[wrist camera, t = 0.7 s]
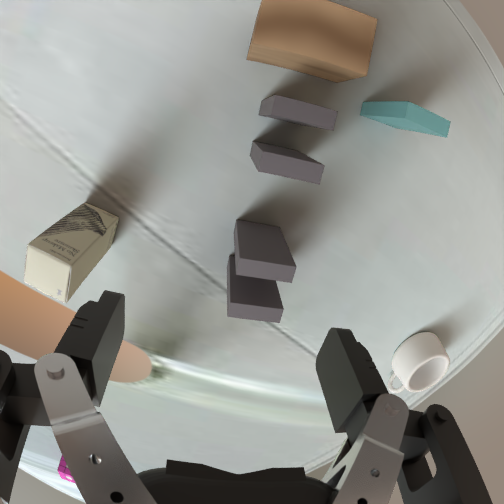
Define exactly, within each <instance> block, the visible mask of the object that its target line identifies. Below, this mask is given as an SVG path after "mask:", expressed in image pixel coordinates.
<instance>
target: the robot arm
mask: <svg viewBox="0 0 504 504" xmlns="http://www.w3.org/2000/svg"><path fill="white" fill-rule="evenodd" d="M124 326H125V296H124V294H120V293H116V292H111V291H107V290H105V291H104V292H103V294H102V295H101V297H100V299H99V301H98V302H94V301H88V302H87V303H85V304H84V305H83V306H81V307H80V308H79V310H78V311H77V313H76V315H75V317H74V318H73V320H72V322H71V323H70V326H69V327H68V328H67V330H66V332H65V333H64V335H63V337H62V339H61V340H60V342H59V344H58V346H57V347H56V349H55V351H54V353H50V354H46V355H44V356H42V357H41V358H40V359H39V360H38V361H37V362H36V364H21V363H12V361H11V359H10V357H9V355H8V354H7V353H5V352H4V351H2V350H0V504H9V501H10V496H11V492H12V487H13V483H14V480H15V476H16V472H17V468H18V465H19V461H20V458H21V454H22V451H23V448H24V445H25V441H26V438H27V435H28V432H29V429H30V426H31V425H38V426H51V428H52V430H53V433H54V436H55V438H56V441H57V443H58V446H59V448H60V450H61V453H62V455H63V457H64V460H65V462H66V464H67V466H68V468H69V471H70V473H71V475H72V477H73V479H74V481H75V483H76V485H77V487H78V489H79V491H80V493H81V495H82V496H83V498H84V500H85V502H86V504H388V503H389V500H390V498H391V495H392V492H393V490H394V487H395V484H396V481H397V482H398V485H399V489H400V492H401V495H402V499H403V502H404V504H493V503H492V501H491V498H490V496H489V494H488V491H487V489H486V486H485V484H484V482H483V479H482V477H481V474H480V472H479V470H478V467H477V465H476V463H475V461H474V459H473V456H472V454H471V452H470V450H469V448H468V446H467V444H466V442H465V439H464V437H463V435H462V433H461V431H460V429H459V427H458V425H457V423H456V421H455V419H454V417H453V415H452V414H451V412H450V411H449V410H448V409H447V408H445V407H444V406H442V405H438V404H433V405H430V406H429V407H428V408H427V409H426V411H425V412H424V413H423V412H418V411H413V410H409V409H408V406H407V405H406V403H405V402H404V401H403V400H402V399H401V398H399V397H398V396H396V395H393V394H389V393H388V390H387V388H386V386H385V384H384V382H383V380H382V378H381V376H380V374H379V372H378V370H377V369H376V366H375V364H374V362H372V358H371V356H370V354H369V352H368V350H367V349H366V348H365V347H364V346H363V345H362V344H361V343H360V342H357V341H356V339H355V337H354V335H353V333H352V331H351V330H350V329H342V328H331V329H330V330H329V332H328V334H327V336H326V338H325V340H324V343H323V345H322V347H321V349H320V351H319V353H318V355H317V359H316V371H317V374H318V377H319V381H320V384H321V387H322V390H323V394H324V397H325V400H326V403H327V407H328V410H329V413H330V417H331V420H332V423H333V427H334V430H335V433H343V432H346V433H347V436H348V437H347V438H346V439H345V440H344V442H343V444H342V446H341V448H340V450H339V452H338V454H337V455H336V457H335V459H334V461H333V463H332V465H331V467H330V468H329V470H328V472H327V473H326V475H325V476H324V478H323V479H322V480H321V481H320V480H318V479H315V478H312V477H308V476H305V471H304V467H299V468H270V469H265V470H261V471H256V472H251V473H245V474H234V473H230V472H227V471H223V470H220V469H216V468H213V467H210V466H207V465H203V464H197V463H189V462H181V461H174V460H168V459H167V464H166V468H156V469H150V470H147V471H143V472H141V473H138V474H136V472H135V471H134V469H133V468H132V466H131V464H130V463H129V461H128V460H127V458H126V456H125V455H124V453H123V451H122V450H121V448H120V446H119V445H118V443H117V441H116V439H115V438H114V436H113V434H112V432H111V430H110V429H109V427H108V425H107V423H106V421H105V419H104V418H103V416H102V414H101V413H100V412H97V411H96V409H95V407H94V406H97V407H100V404H101V401H102V398H103V395H104V392H105V389H106V386H107V383H108V380H109V377H110V374H111V371H112V368H113V365H114V362H115V360H116V357H117V354H118V351H119V349H120V346H121V343H122V340H123V335H124ZM429 451H430V452H431V454H432V457H433V459H434V462H435V464H436V468H437V471H436V475H435V476H434V478H433V477H432V474H431V471H430V469H429V466H428V463H427V461H426V458H425V455H426V454H427V453H428V452H429Z"/></svg>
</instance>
